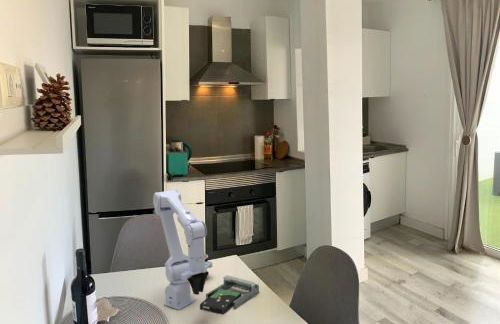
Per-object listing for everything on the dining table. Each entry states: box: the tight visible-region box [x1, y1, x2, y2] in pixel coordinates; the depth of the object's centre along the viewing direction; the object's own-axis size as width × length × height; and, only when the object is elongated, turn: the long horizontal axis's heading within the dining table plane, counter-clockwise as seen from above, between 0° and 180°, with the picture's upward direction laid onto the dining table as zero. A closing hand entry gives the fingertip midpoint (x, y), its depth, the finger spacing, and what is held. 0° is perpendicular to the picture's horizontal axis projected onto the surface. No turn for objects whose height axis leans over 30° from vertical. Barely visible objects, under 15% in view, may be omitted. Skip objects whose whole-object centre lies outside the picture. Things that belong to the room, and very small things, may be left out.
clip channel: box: [205, 274, 260, 310], centre depth 164 cm, size 16×14×5 cm
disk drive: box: [199, 289, 243, 315], centre depth 158 cm, size 10×3×15 cm
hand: (198, 292), depth 147 cm, fingers closed
